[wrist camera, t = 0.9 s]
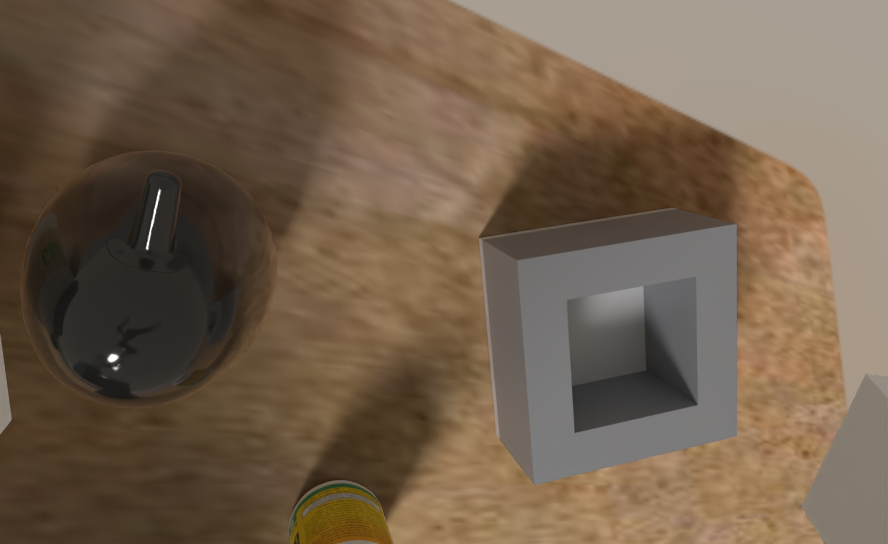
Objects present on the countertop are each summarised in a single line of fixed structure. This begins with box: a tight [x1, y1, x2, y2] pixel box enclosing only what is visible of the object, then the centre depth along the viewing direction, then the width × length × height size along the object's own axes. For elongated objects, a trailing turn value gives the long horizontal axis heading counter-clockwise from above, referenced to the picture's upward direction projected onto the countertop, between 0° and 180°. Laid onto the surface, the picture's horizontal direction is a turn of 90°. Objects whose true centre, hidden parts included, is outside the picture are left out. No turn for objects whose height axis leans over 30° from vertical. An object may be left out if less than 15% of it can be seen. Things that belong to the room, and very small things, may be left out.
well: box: [479, 208, 737, 485], centre depth 41 cm, size 12×12×6 cm
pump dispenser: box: [20, 150, 277, 408], centre depth 30 cm, size 10×10×15 cm
